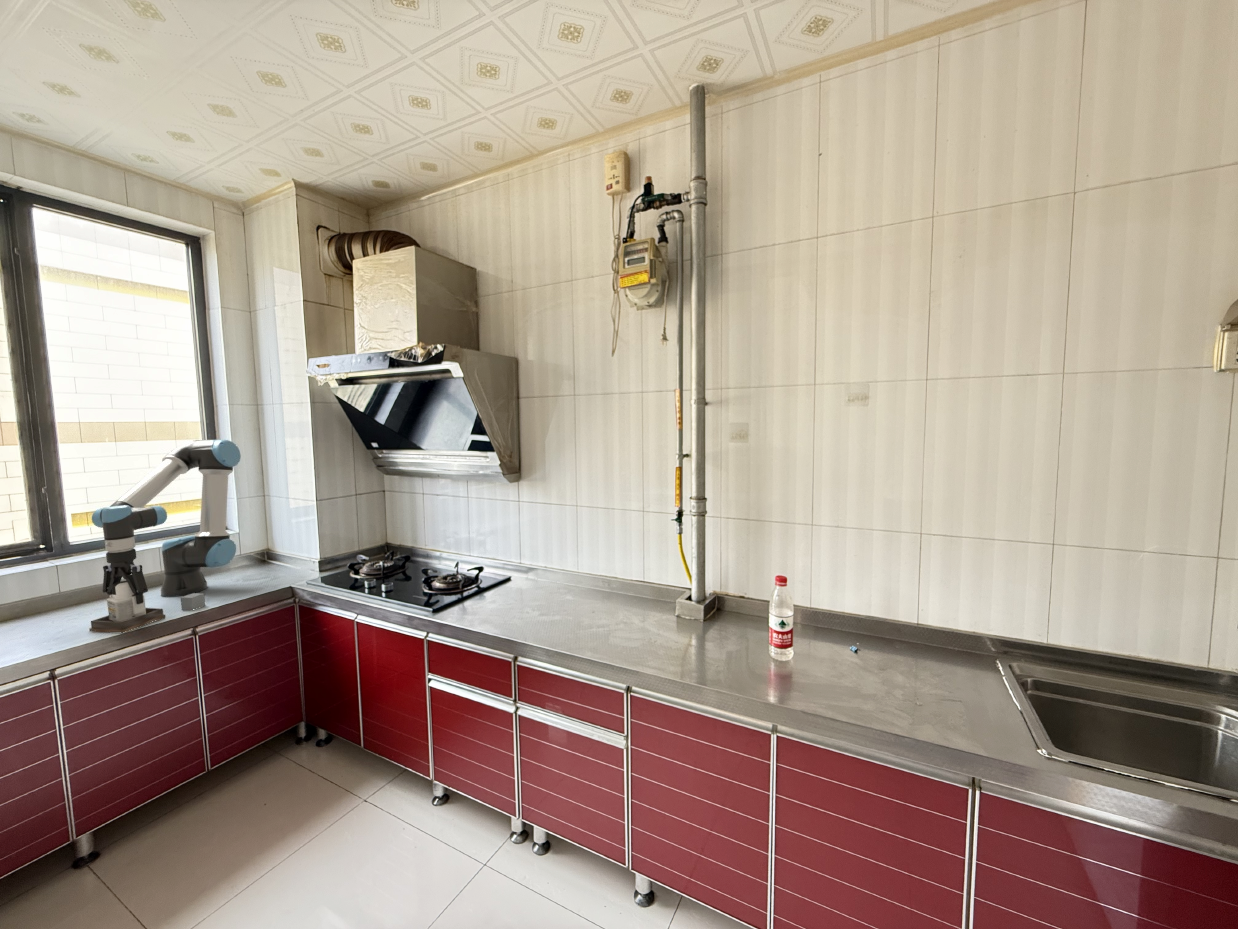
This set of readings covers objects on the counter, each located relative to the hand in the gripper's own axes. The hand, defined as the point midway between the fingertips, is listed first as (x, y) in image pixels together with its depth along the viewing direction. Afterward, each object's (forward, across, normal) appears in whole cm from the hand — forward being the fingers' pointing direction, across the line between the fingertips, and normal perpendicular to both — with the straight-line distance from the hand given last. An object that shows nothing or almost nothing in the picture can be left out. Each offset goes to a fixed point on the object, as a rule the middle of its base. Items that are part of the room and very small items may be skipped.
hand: (127, 612), depth 182 cm
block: (+5, +8, +17) cm, 19 cm away
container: (+2, 0, 0) cm, 2 cm away
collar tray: (+4, 0, 0) cm, 4 cm away
